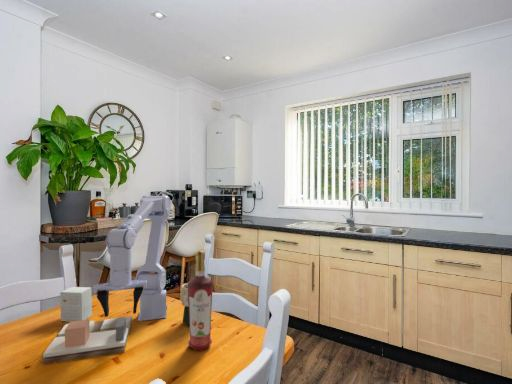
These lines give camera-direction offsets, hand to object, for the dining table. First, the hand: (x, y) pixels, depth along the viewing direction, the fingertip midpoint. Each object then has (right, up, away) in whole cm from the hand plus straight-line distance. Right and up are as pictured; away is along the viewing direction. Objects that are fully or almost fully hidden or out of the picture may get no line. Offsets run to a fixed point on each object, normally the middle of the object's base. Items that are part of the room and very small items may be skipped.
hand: (121, 313), depth 88 cm
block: (-11, -7, -3) cm, 13 cm away
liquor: (+24, -9, -1) cm, 26 cm away
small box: (-23, -9, +16) cm, 30 cm away
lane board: (-10, -9, +2) cm, 13 cm away
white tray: (-8, -8, -2) cm, 11 cm away
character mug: (+18, -9, +14) cm, 25 cm away
